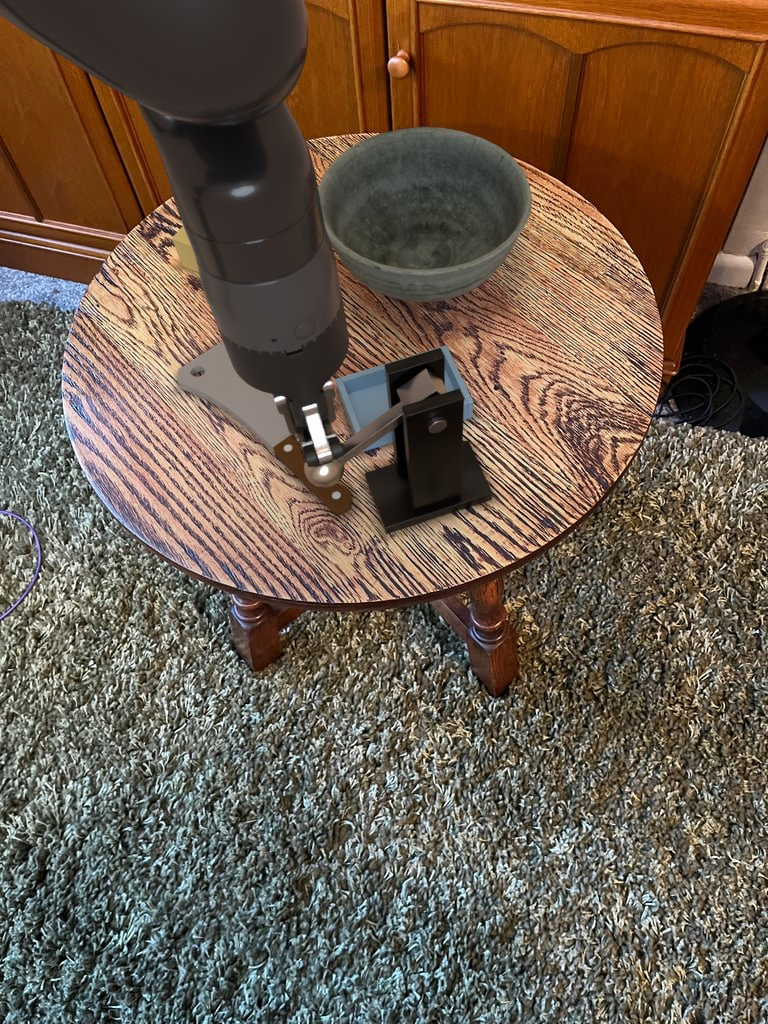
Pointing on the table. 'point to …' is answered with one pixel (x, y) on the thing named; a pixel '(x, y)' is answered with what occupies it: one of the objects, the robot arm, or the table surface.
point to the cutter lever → (377, 428)
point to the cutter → (426, 454)
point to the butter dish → (370, 398)
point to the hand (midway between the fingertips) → (320, 456)
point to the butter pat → (185, 250)
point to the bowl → (424, 211)
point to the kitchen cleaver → (255, 416)
